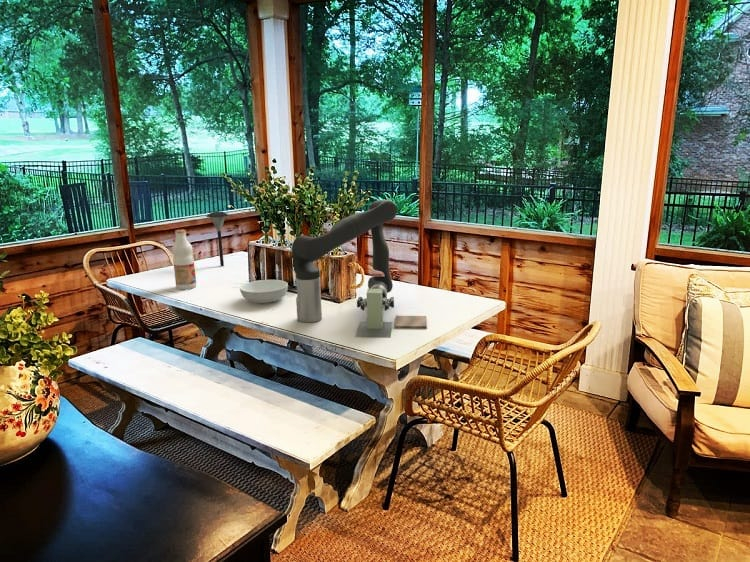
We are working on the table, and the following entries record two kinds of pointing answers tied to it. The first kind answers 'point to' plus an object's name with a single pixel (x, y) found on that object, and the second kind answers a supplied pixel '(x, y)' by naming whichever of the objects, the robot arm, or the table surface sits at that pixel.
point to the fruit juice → (183, 262)
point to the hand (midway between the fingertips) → (374, 308)
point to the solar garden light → (218, 229)
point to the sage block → (374, 309)
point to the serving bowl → (264, 290)
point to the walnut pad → (411, 322)
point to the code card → (374, 331)
